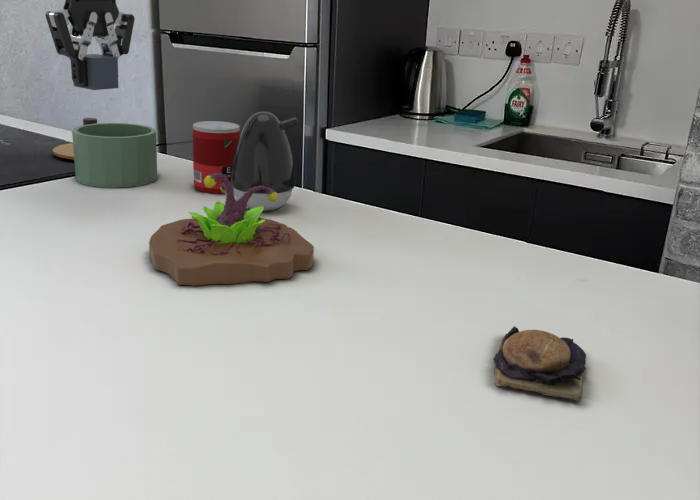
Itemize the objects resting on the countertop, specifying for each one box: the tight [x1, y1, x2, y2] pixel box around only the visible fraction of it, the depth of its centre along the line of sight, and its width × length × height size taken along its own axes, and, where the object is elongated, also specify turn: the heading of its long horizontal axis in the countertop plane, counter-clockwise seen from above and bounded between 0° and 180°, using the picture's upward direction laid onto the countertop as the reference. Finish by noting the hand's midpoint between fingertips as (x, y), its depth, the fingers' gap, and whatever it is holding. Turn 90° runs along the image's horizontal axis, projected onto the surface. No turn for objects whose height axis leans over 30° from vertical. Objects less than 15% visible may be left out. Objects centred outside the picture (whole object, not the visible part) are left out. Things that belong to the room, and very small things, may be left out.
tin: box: [71, 122, 158, 189], centre depth 120 cm, size 14×14×8 cm
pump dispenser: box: [230, 111, 299, 212], centre depth 107 cm, size 10×10×15 cm
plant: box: [148, 173, 315, 287], centre depth 86 cm, size 20×20×11 cm
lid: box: [52, 117, 98, 161], centre depth 135 cm, size 14×14×7 cm
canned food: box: [192, 120, 241, 195], centre depth 117 cm, size 8×8×11 cm
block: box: [72, 53, 119, 91], centre depth 101 cm, size 4×4×4 cm
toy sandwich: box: [492, 326, 587, 402], centre depth 65 cm, size 11×8×4 cm
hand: (95, 84), depth 101 cm, fingers closed on block, 4 cm apart
